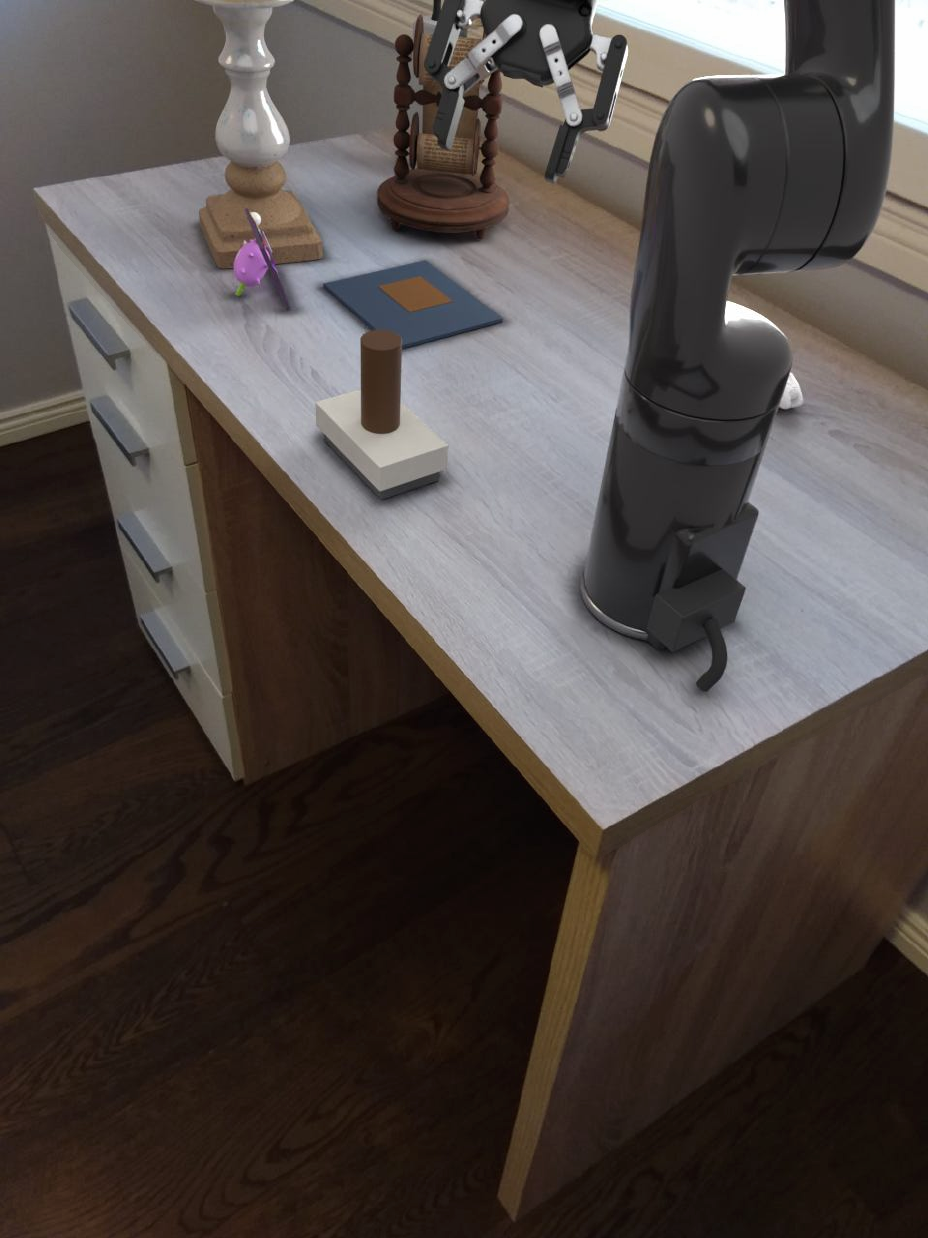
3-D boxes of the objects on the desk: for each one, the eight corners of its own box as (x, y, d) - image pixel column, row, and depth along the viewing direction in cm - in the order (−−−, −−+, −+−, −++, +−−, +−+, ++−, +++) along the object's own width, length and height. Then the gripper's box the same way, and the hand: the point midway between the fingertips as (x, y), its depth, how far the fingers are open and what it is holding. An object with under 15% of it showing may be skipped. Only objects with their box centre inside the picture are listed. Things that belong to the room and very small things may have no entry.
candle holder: (298, 216, 113) (286, -35, 96) (324, 259, 106) (316, -4, 89) (198, 224, 110) (168, -33, 93) (218, 269, 102) (189, -2, 86)
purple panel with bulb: (270, 243, 92) (254, 203, 98) (217, 265, 92) (205, 224, 98) (298, 306, 97) (281, 264, 103) (248, 327, 97) (234, 285, 103)
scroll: (511, 198, 120) (530, 6, 106) (502, 252, 110) (521, 46, 96) (387, 186, 121) (390, -8, 107) (366, 237, 110) (366, 30, 96)
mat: (502, 321, 99) (503, 317, 98) (396, 350, 93) (396, 346, 93) (425, 263, 107) (425, 259, 106) (323, 287, 101) (323, 282, 101)
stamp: (446, 481, 79) (454, 361, 72) (379, 504, 77) (380, 382, 69) (380, 418, 85) (381, 301, 78) (316, 438, 82) (311, 318, 75)
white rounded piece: (776, 419, 89) (785, 391, 87) (733, 372, 94) (740, 345, 92) (807, 415, 90) (817, 387, 88) (762, 369, 95) (770, 341, 93)
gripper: (462, -124, 69) (396, 126, 74) (662, -68, 68) (582, 183, 73) (480, -79, 77) (419, 147, 81) (661, -27, 75) (589, 199, 80)
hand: (496, 164), depth 77 cm, fingers open, 8 cm apart
